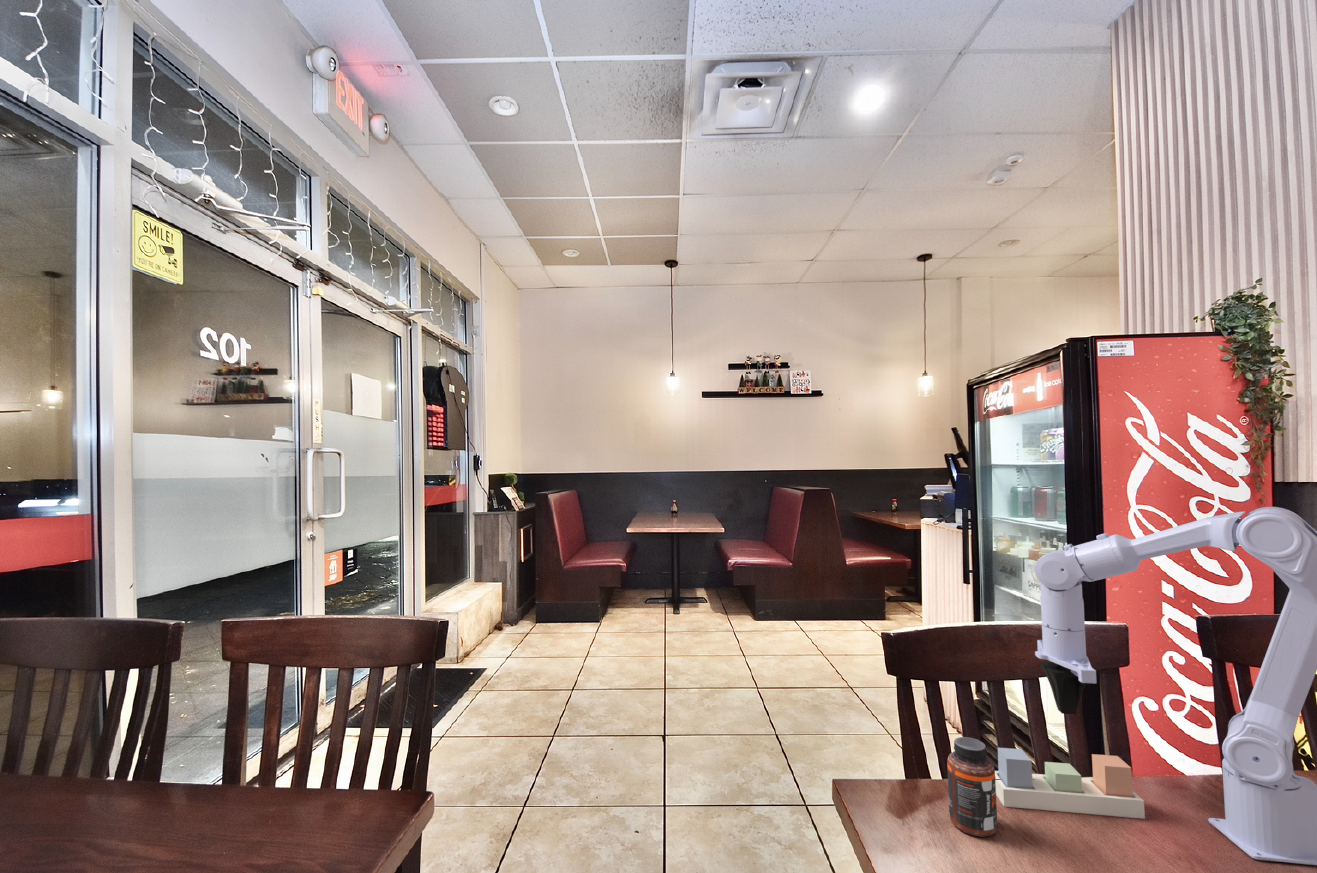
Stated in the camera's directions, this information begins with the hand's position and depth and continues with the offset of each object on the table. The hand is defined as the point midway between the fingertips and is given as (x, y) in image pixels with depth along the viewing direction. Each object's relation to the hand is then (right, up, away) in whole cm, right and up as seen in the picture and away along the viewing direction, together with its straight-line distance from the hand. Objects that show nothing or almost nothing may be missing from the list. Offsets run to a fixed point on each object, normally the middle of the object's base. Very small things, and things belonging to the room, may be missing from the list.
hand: (1067, 712), depth 92 cm
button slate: (-11, -8, -5) cm, 15 cm away
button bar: (-5, -10, -7) cm, 13 cm away
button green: (-5, -10, -7) cm, 13 cm away
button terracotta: (+1, -8, -8) cm, 11 cm away
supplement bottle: (-21, -11, -12) cm, 26 cm away
